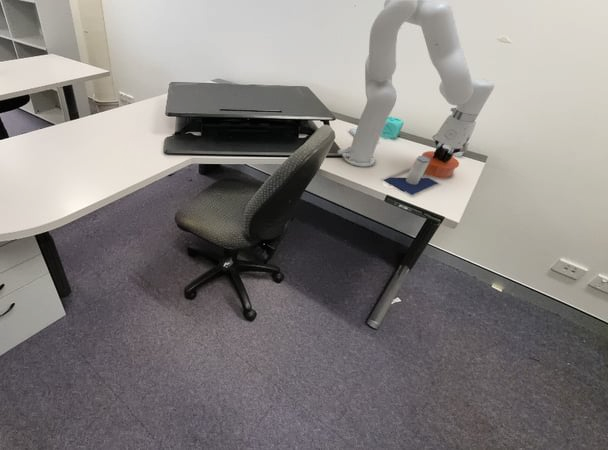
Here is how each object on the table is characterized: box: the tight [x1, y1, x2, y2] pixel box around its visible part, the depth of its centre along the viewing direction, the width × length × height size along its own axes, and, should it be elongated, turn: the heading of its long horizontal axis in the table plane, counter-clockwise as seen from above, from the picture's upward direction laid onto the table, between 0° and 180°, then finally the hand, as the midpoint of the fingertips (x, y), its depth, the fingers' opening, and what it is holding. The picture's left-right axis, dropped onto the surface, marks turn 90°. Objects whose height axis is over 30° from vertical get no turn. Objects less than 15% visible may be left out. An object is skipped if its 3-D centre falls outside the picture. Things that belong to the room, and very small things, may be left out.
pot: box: [424, 164, 456, 179], centre depth 135 cm, size 12×12×5 cm
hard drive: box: [349, 128, 357, 137], centre depth 158 cm, size 2×8×12 cm
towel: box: [384, 176, 439, 196], centre depth 129 cm, size 17×12×1 cm
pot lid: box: [421, 148, 460, 170], centre depth 132 cm, size 13×13×6 cm
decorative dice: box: [380, 116, 404, 140], centre depth 158 cm, size 8×8×8 cm
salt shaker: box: [405, 155, 430, 185], centre depth 126 cm, size 5×5×10 cm
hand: (440, 158), depth 133 cm, fingers open, 3 cm apart
